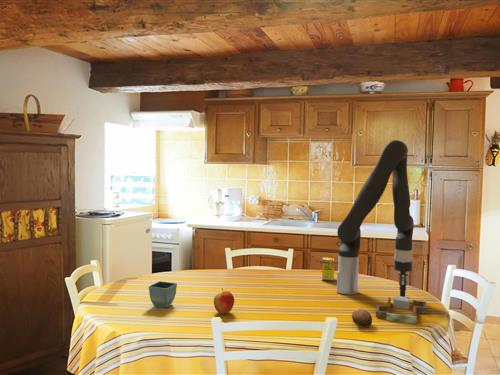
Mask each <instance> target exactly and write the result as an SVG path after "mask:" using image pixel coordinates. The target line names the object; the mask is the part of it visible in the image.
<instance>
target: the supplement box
mask: <svg viewBox="0 0 500 375" xmlns="http://www.w3.org/2000/svg"><path fill="white" fill-rule="evenodd" d="M321 266H322V267H321V273H322V274H321V281H322V282H334V281H335V280H334V279H335V258H333V257H322V265H321Z"/></svg>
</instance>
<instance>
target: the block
mask: <svg viewBox="0 0 500 375" xmlns="http://www.w3.org/2000/svg"><path fill="white" fill-rule="evenodd" d="M410 302H411V297H409V296H405V297H402V296H400V295H395V296H394V298H393V308H397V309H405V310H409V309H410V304H411V303H410Z"/></svg>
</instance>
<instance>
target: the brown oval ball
mask: <svg viewBox="0 0 500 375" xmlns="http://www.w3.org/2000/svg"><path fill="white" fill-rule="evenodd" d="M351 319H352V322H353V323H354V324H355V325H357V326H358V327H359V328H362V329H363V328H364V329H366V328H369V327H371V325H372V324H373V317H372V315H371V314H370V312H369V311H367V310H366V309H365V308H356V309H355V310H353V311H352V313H351Z"/></svg>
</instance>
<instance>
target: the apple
mask: <svg viewBox="0 0 500 375" xmlns="http://www.w3.org/2000/svg"><path fill="white" fill-rule="evenodd" d="M221 290H222V292H220V293H218V294H216V295H215V296H214V298H213V305H214V308H215V310H216V311H217V313H219V314H221V315H226V314H229V313H230V312H231V311H232V310H233V307H234V305H235V297H234V295H233V293H231V292H230V291H228V290H225V291H224V288H223V287H222V288H221Z"/></svg>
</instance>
